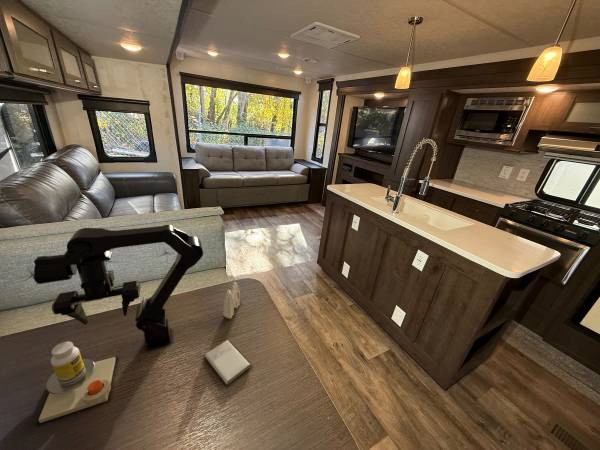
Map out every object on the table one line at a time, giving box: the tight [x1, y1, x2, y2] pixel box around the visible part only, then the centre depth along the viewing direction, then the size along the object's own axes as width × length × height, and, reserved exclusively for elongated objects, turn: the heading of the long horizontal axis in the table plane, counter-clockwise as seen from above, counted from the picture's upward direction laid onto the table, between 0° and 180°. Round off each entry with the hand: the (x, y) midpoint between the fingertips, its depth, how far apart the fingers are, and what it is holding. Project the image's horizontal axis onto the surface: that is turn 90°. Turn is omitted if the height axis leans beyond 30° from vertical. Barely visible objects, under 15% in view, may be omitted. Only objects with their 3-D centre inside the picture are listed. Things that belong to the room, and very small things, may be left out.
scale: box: [38, 356, 116, 424], centre depth 66 cm, size 14×14×3 cm
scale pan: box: [46, 358, 95, 394], centre depth 66 cm, size 10×10×1 cm
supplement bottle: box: [50, 341, 85, 383], centre depth 64 cm, size 5×5×10 cm
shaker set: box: [222, 281, 241, 319], centre depth 95 cm, size 12×4×11 cm, turn 174°
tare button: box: [87, 380, 103, 395], centre depth 63 cm, size 3×3×2 cm
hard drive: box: [204, 339, 251, 386], centre depth 77 cm, size 2×8×12 cm
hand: (106, 319), depth 72 cm, fingers open, 9 cm apart
